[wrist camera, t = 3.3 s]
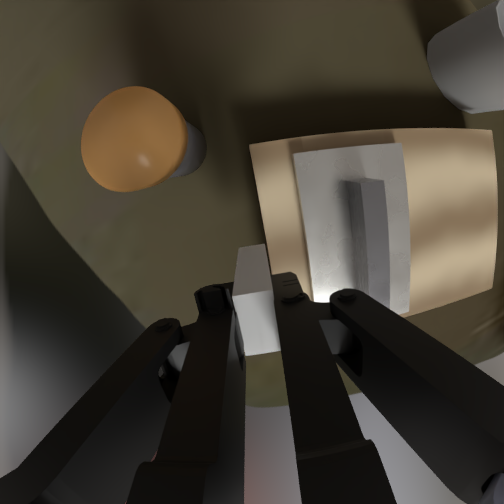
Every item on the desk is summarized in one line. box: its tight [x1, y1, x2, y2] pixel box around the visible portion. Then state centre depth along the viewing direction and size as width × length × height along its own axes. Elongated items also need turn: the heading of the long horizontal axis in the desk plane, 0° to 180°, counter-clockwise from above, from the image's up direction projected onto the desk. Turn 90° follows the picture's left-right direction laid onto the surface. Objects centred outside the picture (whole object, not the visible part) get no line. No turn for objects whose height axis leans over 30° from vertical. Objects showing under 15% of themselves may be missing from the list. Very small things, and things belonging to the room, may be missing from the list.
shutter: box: [291, 143, 411, 315], centre depth 17 cm, size 12×7×3 cm, turn 10°
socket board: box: [249, 128, 498, 317], centre depth 20 cm, size 14×20×4 cm
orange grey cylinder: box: [81, 86, 207, 192], centre depth 16 cm, size 5×5×10 cm
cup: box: [427, 0, 504, 114], centre depth 13 cm, size 8×8×10 cm
